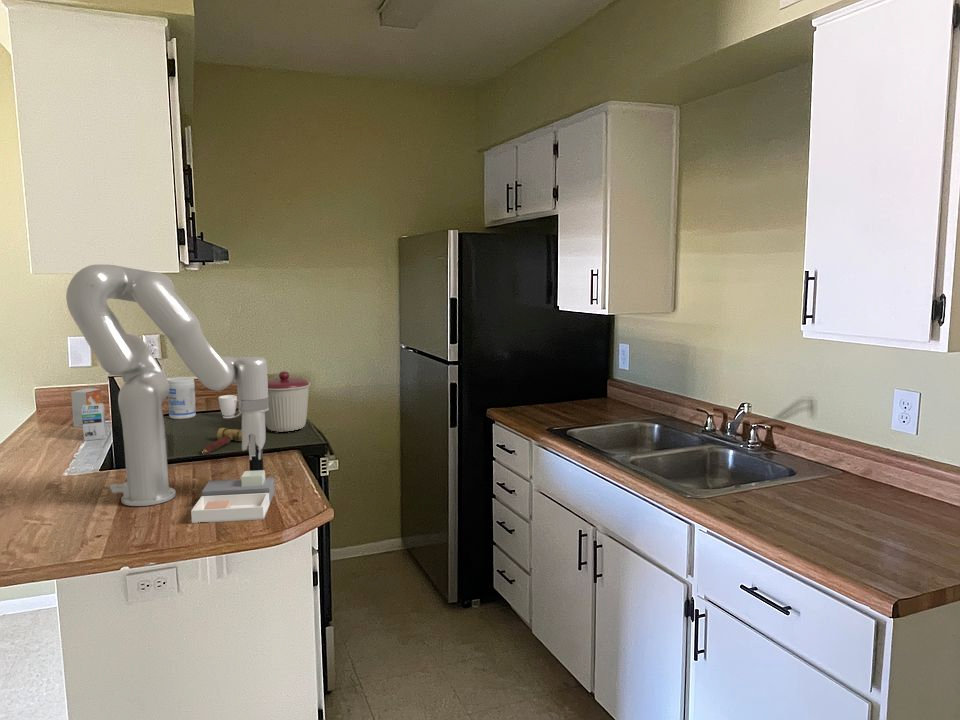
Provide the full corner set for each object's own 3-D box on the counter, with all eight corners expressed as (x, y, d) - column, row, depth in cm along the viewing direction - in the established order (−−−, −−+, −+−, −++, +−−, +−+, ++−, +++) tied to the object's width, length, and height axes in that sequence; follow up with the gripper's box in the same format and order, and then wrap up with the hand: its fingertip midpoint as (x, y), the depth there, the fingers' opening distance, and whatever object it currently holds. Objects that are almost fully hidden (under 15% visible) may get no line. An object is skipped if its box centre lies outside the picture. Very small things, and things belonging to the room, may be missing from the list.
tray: (191, 523, 165) (191, 510, 165) (202, 508, 176) (201, 496, 175) (263, 519, 168) (263, 507, 167) (269, 504, 178) (269, 492, 178)
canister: (289, 438, 245) (286, 376, 242) (248, 432, 252) (245, 373, 250) (322, 426, 261) (320, 369, 258) (283, 422, 269) (281, 366, 266)
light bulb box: (105, 439, 244) (103, 408, 243) (83, 441, 241) (80, 409, 240) (106, 432, 254) (104, 402, 252) (84, 434, 251) (82, 404, 250)
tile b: (241, 486, 179) (241, 476, 179) (245, 480, 184) (244, 471, 184) (262, 485, 180) (262, 475, 180) (265, 479, 185) (264, 470, 185)
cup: (227, 414, 282) (225, 394, 281) (248, 416, 279) (247, 395, 278) (215, 418, 276) (214, 397, 274) (237, 420, 272) (236, 399, 271)
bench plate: (202, 507, 176) (201, 491, 176) (210, 495, 185) (209, 480, 185) (270, 503, 179) (269, 488, 178) (274, 492, 187) (274, 477, 187)
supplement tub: (166, 420, 273) (164, 381, 271) (172, 414, 282) (170, 377, 280) (193, 419, 275) (191, 381, 273) (198, 413, 284) (196, 377, 282)
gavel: (215, 447, 222) (186, 445, 224) (216, 461, 223) (188, 459, 225) (250, 427, 242) (223, 426, 244) (251, 440, 243) (224, 439, 245)
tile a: (207, 501, 171) (208, 512, 172) (203, 509, 167) (204, 519, 167) (229, 500, 172) (230, 510, 173) (226, 507, 167) (226, 518, 168)
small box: (88, 427, 261) (85, 392, 260) (73, 426, 262) (70, 391, 261) (103, 422, 269) (101, 388, 267) (89, 422, 270) (86, 387, 269)
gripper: (242, 399, 192) (246, 466, 194) (233, 411, 177) (237, 483, 180) (272, 398, 193) (274, 465, 196) (264, 410, 178) (268, 481, 181)
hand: (256, 473), depth 188 cm, fingers closed
